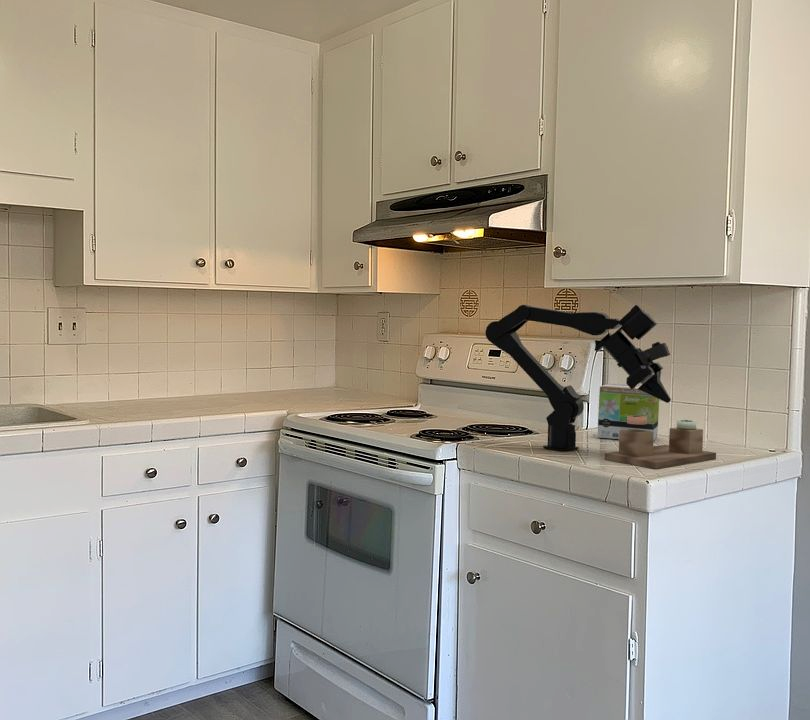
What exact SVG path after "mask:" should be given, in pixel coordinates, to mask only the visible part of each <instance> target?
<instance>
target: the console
mask: <svg viewBox="0 0 810 720" xmlns="http://www.w3.org/2000/svg"><path fill="white" fill-rule="evenodd" d="M668 432H669V434H668V435H669V436H668V437H669V438H668V439H669V440H668V444H660V445H655V446H654V441H653V439H654V432H653V431H646V430H639V429H627V430H619V439H618V451H610V452H604V460H605V461H611V462H617V463H619V464H620V463H621V464H627V465H631V466H636V467H642V468H646V469H652V470H659V469H660V470H661V469H665V468H672V467H676V466H684V465H687V464H694V463H699V462H700V463H701V462H705V461H712V460H716V459H717V452H715V451H708V450H707V451H706V450H703V449H704V448H703V443H704V429H703V428H697V427H696V429H680V428H677V426H676V427H669V431H668Z"/></svg>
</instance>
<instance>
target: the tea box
mask: <svg viewBox="0 0 810 720" xmlns="http://www.w3.org/2000/svg"><path fill="white" fill-rule="evenodd" d="M640 386H641V385H636V386H635V388H634V389H631V388H630V387H629V386H628V385H627V384H617V383H605V384H604V385H602V386H599V395H598V414H597V416H598V417H597V438H598V439H613V440H619V430H627V429H639V430H646V431H653V432H654V439H653V442H654V441H656V439H657V438H658V433H659V432H658V431H659V430H658V429H659V413H660V412H659V411H660V399H658V398H656V397H654V396H652V395H650V394H647V393H645V392H643V391H641V390H638V388H639V387H640ZM629 415H641V416H646V417H647V424H644V425H637V424H628V423H627V416H629Z"/></svg>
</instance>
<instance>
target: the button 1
mask: <svg viewBox="0 0 810 720" xmlns="http://www.w3.org/2000/svg"><path fill="white" fill-rule="evenodd" d="M627 423H628V424H637V425H644V424H647V417H646V416H641V415H629V416H627Z"/></svg>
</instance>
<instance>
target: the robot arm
mask: <svg viewBox="0 0 810 720" xmlns="http://www.w3.org/2000/svg"><path fill="white" fill-rule="evenodd" d="M529 321H531V322H536V323H542V324H547V325H548V324H550V325H555V326H561V327H562V326H563V327H567V328H571V329H574V330H577V331H580V332H581V333H585V334H588V335H591V336H604V337H603V338H601V339H600V340H599V339H595V340H594V343H595V345H594V346H595V347H594V351H595V352H600V351H601V350H602V349H605V351H606V352H607V353H608V355H610V357H612V358H613V360H614V361H615V362H616V365H617V367H618V368H621V369H623V371H624V372H625V373H626V374H627V375H628V376H627V378H626V384H625V385H628V386H629V387H630V388H631V389H634V388H635V386H640V387H639V388H638V390H641V391H643V392H645V393H647V394H650V395H652V396H654V397H656V398H658V399H659V401H662V402H664V403H666V404H670V402H672V399H671V397H670V395H669V393H668V392H667V390H666V388H665V387H664V384H663V383H662V381H661V374H662V370H663V369H664V367H663V366H662V365H661V364H660V363H659V362H654V361H655V360H658V359H659V360H660V359H661V358H664V357H665V358H667V357H668V356H671V353H670V350H669V346H668V345H667V343H666V342H662V343H661V342H660V341H656V342H655V343H651V347H650V348H647V349H645V350H643V349H642V348H640V347H636V346H635V344H633V342H632V341H634V340H635V339H637V340H639V341H640V340H641V339H643V338H644V336H646V335H647V334H648V333H649V332H650V331H651V330H652V329H654V328H655V326H657V325H658V324H657V322H656V321H655V319H654V318H653V317H652V316H651V315H650V314H649V313H646V311H645V310H644V309H643V308H641V307H640V306H639V305H638V304H635V305H634V306H633V307H632V308H631V309H630V310H629V311H628V313H626V314H625V315H624V316H623V317H622V318H621V319H620V318H611V317H610V316H609V315H608V314H606V313H605V312H599V311H589V312H588V311H587V312H586V311H584V312H582V311H581V312H569V311H563V310H556V309H549V308H543V307H538V306H537V307H536V306H532V305H530V304H521V305H519V306H518V307H517V308H515V310H512V311H511V312H509V313H508V314H507V315H505V316H503V317H502V318H501V319H499V320H497V321H496V320H495V321H492V322H489V324H488V325H487V326H486V329H485V337H486V339H487V341H488V342H489V343H491V344H493V346H495V347H496V348H498V349H499V350H501V351H503V352H504V353H506V354H507V355H509V356H510V357H511V358H512V360H513V361H515V362H516V364H517V365H518V366H519V367H520V368H521V369H522V370H523V371H524V372H525V374H527V375H528V377H529V378H530V379H531V380H532V381H533V382H534V383H535V384H536V385H537V387H538V388H539V389H540V390H541V391H542V392H543V393H544V394H545V395H546V396H547V399H548V401H549V403H550V406H551V407H552V409H553V410H552V412H551V413H550V414H549V415H547V416H546V418H545V419H546V422H547V444H545V445H542V446H543V448H544V449H550V450H555V451H559V452H565V451H573V450H579V449H580V448H579V446H576V444H577V432H576V425H574V424H575V421H576V419H577V418H578V417H579V416H581V415H582V413H583V412H584V409H585V406H584V405H585V404H584V401H583V400H582V399H581V398H582V397H583V396H582V395H581V394H579V393H577V391H576V390H575V388H574V387H573V386H572V385H567V386H563V385H561V384H560V383H559V382H558V381H557V380H556V379H555V378H554V376H552V375H551V374H550V372H549V371H547V369H546V368H545V367H544V366H543V365H542V364H541V362H540V361H538V360H537V358H535V356H534V355H533V354H532V353H531V352H530V351H529V350H528V349H527V348H526V347H525V346H524V344H523V343H522V341H521V338H520V336H519V334H518V333H517V331H519V330H520V329H521V328H522V327H524V326H525V325H526V323H528V322H529ZM615 329H617V330H616V331H615V332H613V333H611V332H609V331H610V330H615ZM622 331H623V332H624V333H625V334H624V333H623V332H622ZM629 339H630V340H629ZM631 340H632V341H631ZM639 384H640V385H639Z"/></svg>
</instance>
